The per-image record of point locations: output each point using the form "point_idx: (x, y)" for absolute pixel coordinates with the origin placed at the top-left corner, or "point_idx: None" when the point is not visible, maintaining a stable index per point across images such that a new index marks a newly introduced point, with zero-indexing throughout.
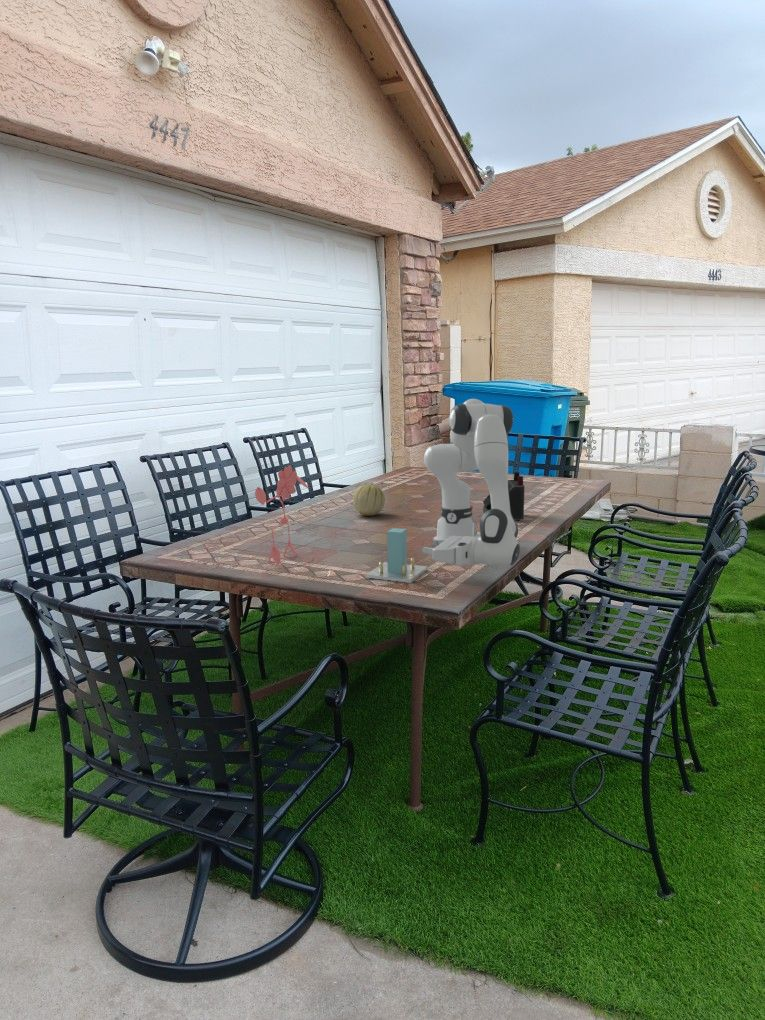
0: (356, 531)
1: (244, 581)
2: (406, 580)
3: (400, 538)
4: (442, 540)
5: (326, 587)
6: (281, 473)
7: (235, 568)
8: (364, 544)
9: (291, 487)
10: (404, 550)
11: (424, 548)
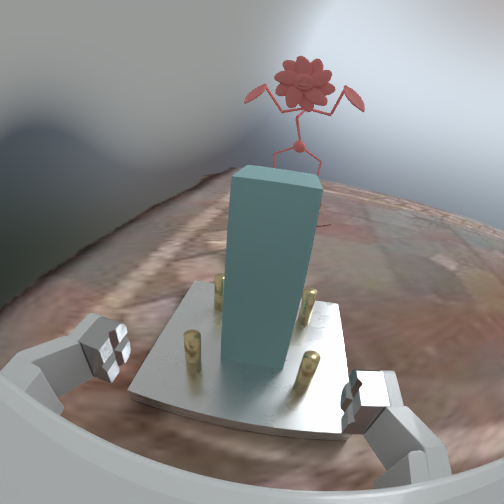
0: (472, 254)
1: (178, 195)
2: (136, 379)
3: (230, 209)
4: (413, 442)
5: (130, 244)
6: (289, 64)
7: None
8: (438, 266)
9: (312, 92)
10: (269, 291)
11: (84, 324)
